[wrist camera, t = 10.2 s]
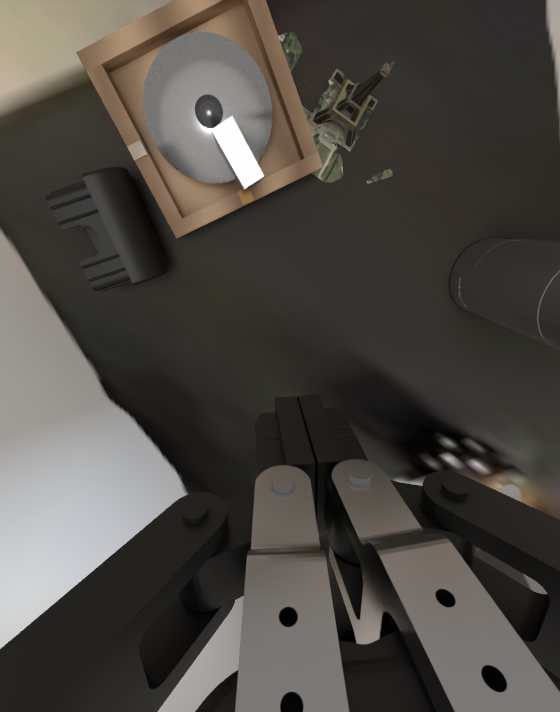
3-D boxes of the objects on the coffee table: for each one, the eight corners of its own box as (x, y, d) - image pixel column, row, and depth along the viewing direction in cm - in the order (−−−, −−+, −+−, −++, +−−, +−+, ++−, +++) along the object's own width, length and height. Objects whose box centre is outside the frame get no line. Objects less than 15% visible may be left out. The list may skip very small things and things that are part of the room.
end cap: (175, 266, 40) (163, 275, 34) (116, 285, 40) (94, 298, 34) (136, 171, 36) (114, 162, 30) (71, 193, 36) (36, 188, 30)
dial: (122, 89, 31) (80, 44, 23) (228, 13, 30) (224, -63, 22) (204, 219, 36) (194, 221, 28) (298, 159, 35) (317, 141, 27)
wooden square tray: (250, -12, 32) (251, -44, 28) (315, 171, 38) (323, 166, 34) (94, 70, 33) (74, 50, 29) (182, 236, 39) (176, 238, 35)
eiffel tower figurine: (270, 36, 34) (289, -66, 21) (372, 6, 34) (449, -114, 21) (307, 202, 39) (338, 196, 27) (393, 176, 39) (464, 159, 27)
